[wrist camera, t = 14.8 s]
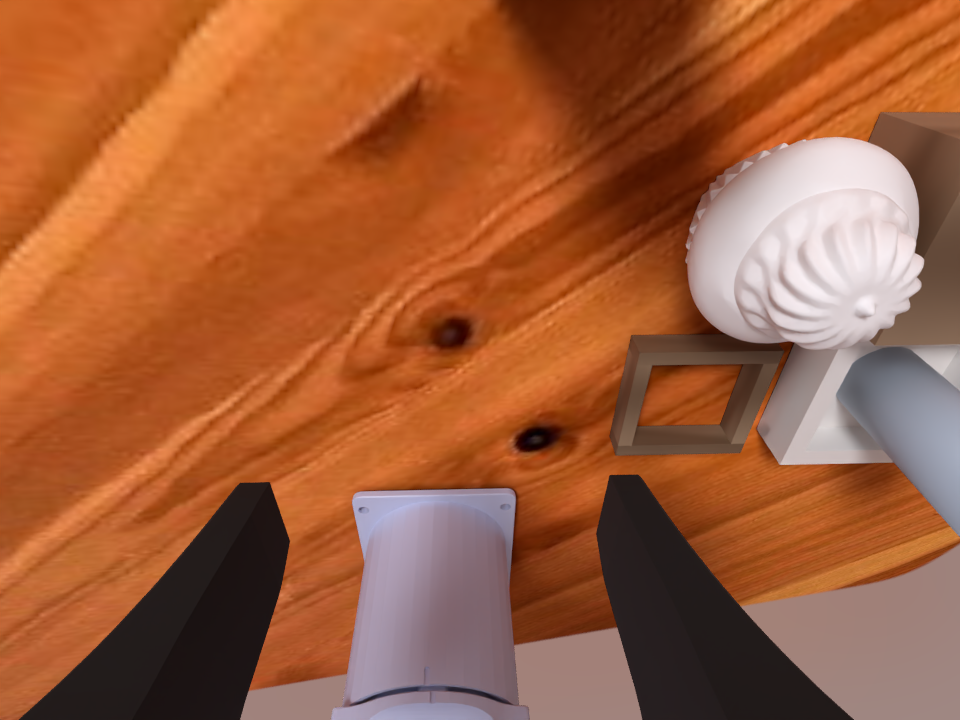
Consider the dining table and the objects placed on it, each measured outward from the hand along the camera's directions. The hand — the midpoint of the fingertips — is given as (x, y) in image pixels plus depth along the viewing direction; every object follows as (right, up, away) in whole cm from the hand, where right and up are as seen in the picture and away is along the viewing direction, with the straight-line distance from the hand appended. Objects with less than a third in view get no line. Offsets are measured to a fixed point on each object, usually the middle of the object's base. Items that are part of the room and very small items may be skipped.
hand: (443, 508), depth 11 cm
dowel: (+17, +2, +10) cm, 20 cm away
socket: (+10, +2, +11) cm, 15 cm away
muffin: (+10, +9, +7) cm, 15 cm away
